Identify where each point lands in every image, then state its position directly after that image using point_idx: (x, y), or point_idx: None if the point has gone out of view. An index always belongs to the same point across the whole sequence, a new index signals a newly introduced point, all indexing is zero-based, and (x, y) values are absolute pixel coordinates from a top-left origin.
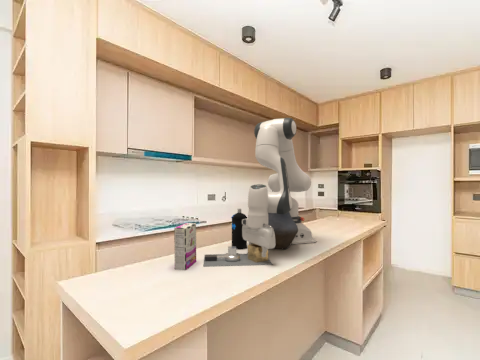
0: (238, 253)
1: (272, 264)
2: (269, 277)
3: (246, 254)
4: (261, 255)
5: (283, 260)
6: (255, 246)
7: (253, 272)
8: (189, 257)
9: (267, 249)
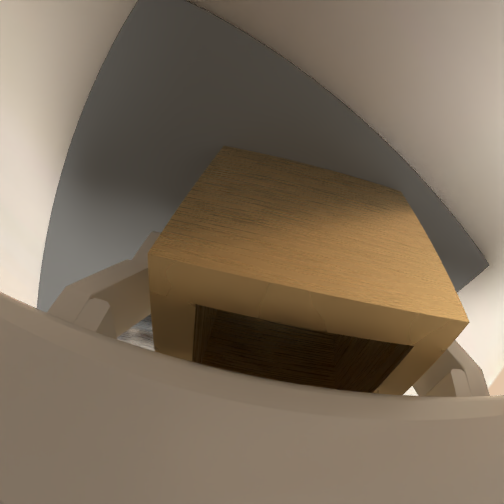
0: (133, 342)
1: (482, 263)
2: (493, 378)
3: (82, 199)
4: None
5: (498, 50)
6: (202, 332)
7: (411, 391)
8: None
9: (475, 366)
